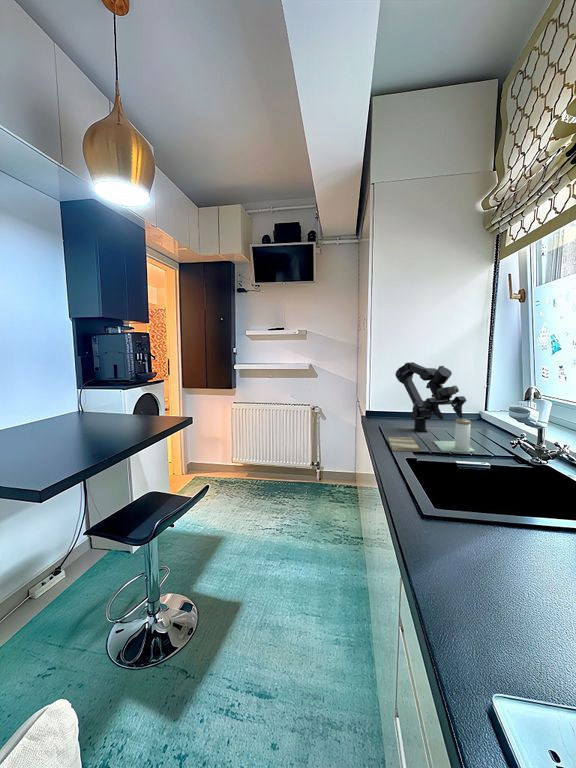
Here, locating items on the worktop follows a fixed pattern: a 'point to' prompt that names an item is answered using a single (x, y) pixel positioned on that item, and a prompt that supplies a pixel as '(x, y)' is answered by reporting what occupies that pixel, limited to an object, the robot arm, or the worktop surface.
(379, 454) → the worktop surface
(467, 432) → the jar
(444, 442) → the mat
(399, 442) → the board
